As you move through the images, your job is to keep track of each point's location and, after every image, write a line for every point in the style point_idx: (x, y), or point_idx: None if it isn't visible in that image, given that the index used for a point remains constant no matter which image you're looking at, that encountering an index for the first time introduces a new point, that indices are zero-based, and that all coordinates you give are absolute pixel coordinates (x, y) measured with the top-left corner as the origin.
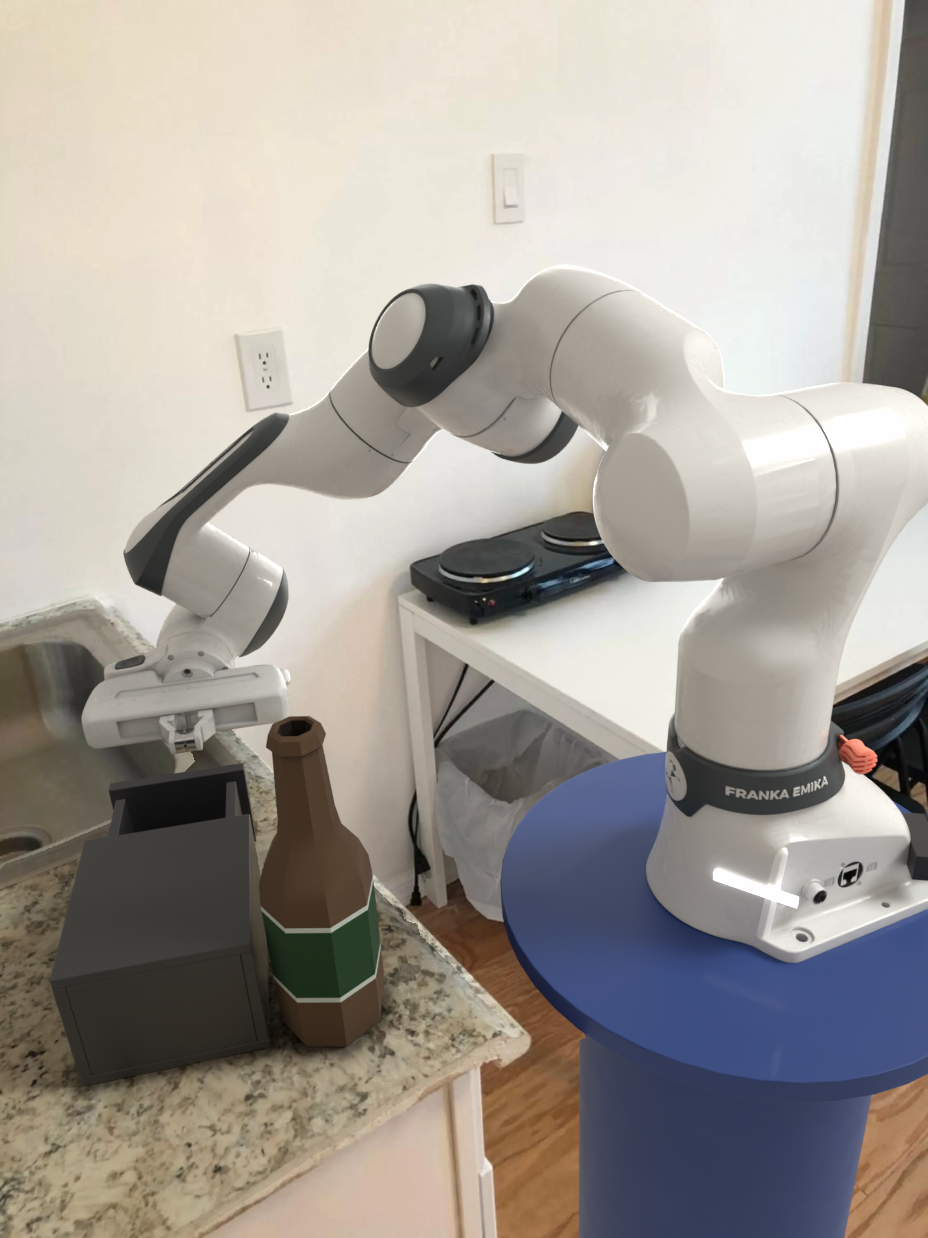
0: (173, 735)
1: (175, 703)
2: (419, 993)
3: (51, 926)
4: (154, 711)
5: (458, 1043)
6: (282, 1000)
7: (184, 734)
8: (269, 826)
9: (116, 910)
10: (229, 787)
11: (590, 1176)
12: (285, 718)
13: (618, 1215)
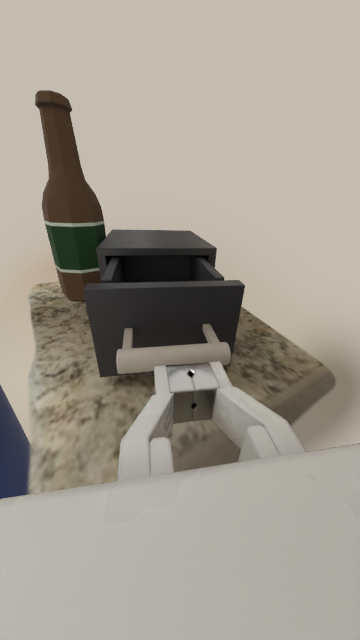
0: (214, 370)
1: (283, 491)
2: (48, 294)
3: (253, 332)
4: (338, 448)
5: (47, 283)
6: None
7: (189, 370)
8: (82, 407)
9: (174, 235)
10: (108, 276)
11: (6, 427)
12: (52, 91)
13: (10, 409)
